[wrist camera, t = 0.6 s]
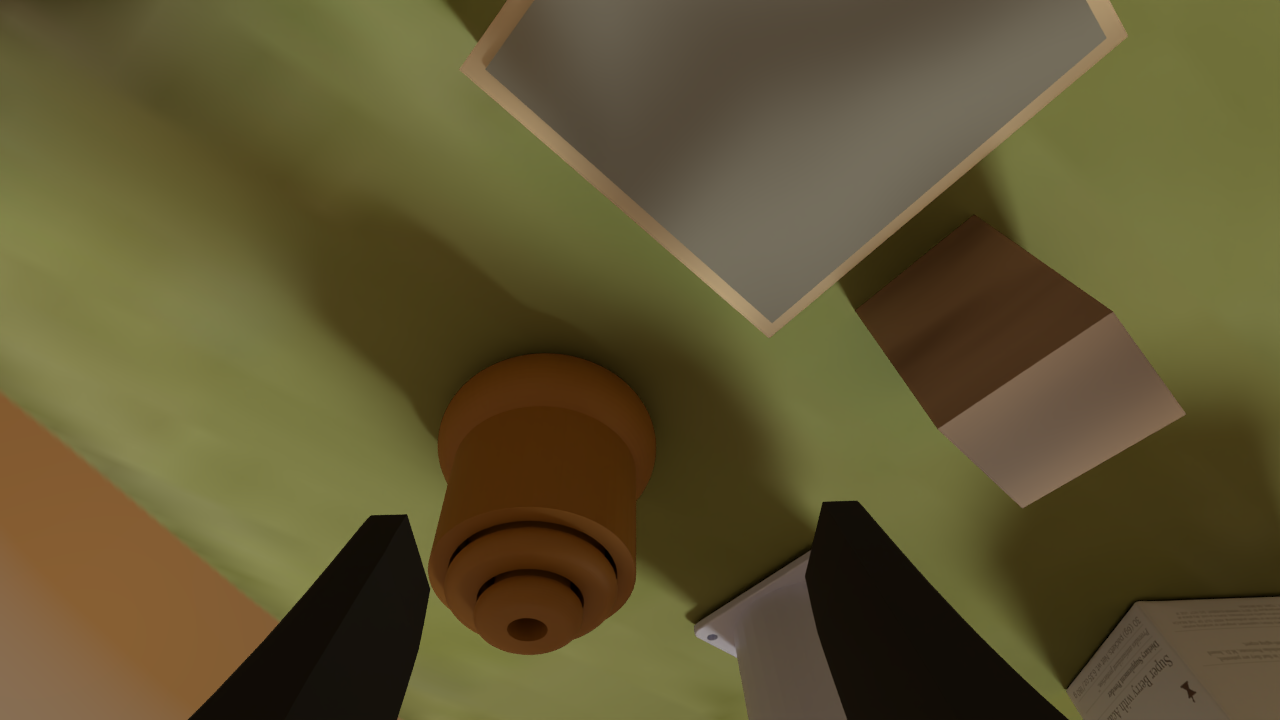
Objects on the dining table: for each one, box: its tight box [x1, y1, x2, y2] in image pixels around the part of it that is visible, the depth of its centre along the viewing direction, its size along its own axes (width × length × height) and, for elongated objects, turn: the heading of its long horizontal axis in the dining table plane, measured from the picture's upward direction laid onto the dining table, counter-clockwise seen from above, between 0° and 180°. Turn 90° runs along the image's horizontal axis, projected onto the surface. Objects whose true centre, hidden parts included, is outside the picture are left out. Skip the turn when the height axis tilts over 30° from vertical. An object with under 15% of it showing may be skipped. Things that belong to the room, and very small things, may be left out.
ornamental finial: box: [428, 353, 656, 655], centre depth 19 cm, size 8×8×8 cm
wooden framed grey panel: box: [459, 0, 1128, 338], centre depth 14 cm, size 10×10×3 cm
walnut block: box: [855, 215, 1186, 508], centre depth 17 cm, size 4×4×6 cm
